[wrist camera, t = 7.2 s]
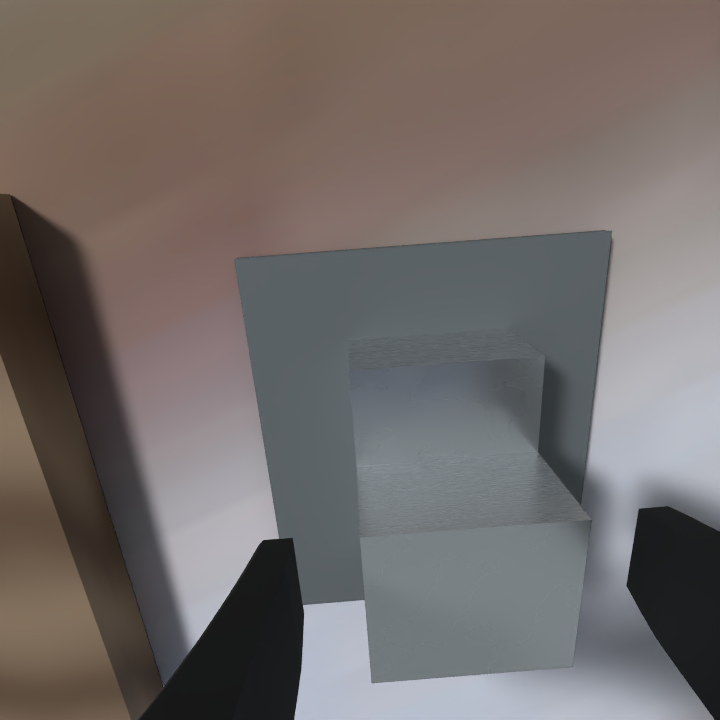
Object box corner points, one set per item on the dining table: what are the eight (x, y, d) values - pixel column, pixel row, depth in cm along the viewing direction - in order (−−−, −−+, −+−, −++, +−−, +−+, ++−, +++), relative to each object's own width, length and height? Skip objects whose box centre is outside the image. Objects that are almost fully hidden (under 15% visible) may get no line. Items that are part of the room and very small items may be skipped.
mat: (566, 573, 16) (571, 582, 16) (291, 596, 16) (290, 605, 15) (603, 230, 12) (611, 231, 12) (237, 257, 12) (234, 259, 12)
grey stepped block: (497, 530, 15) (570, 682, 10) (363, 540, 15) (373, 698, 10) (506, 328, 12) (607, 402, 8) (347, 339, 12) (350, 421, 8)
